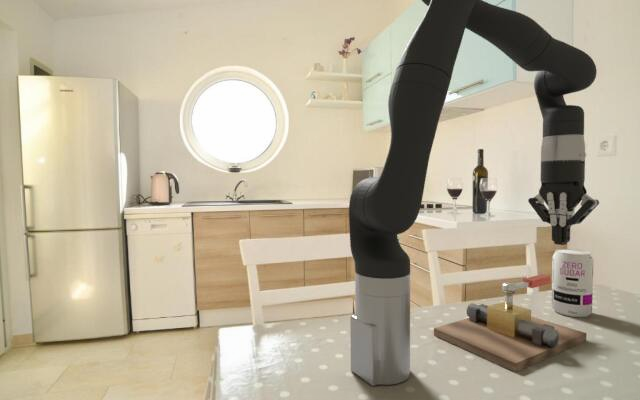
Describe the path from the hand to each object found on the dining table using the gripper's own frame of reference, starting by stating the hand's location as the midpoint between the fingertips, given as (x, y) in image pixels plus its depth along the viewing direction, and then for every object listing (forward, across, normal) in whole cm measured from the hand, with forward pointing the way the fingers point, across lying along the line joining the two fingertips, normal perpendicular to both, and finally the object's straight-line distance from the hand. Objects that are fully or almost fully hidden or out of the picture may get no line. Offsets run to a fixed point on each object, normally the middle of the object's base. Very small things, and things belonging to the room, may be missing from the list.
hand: (560, 244), depth 77 cm
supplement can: (+20, -6, +18) cm, 27 cm away
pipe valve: (+19, -5, -9) cm, 22 cm away
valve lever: (+10, -5, -3) cm, 11 cm away
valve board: (+19, -5, -9) cm, 22 cm away
